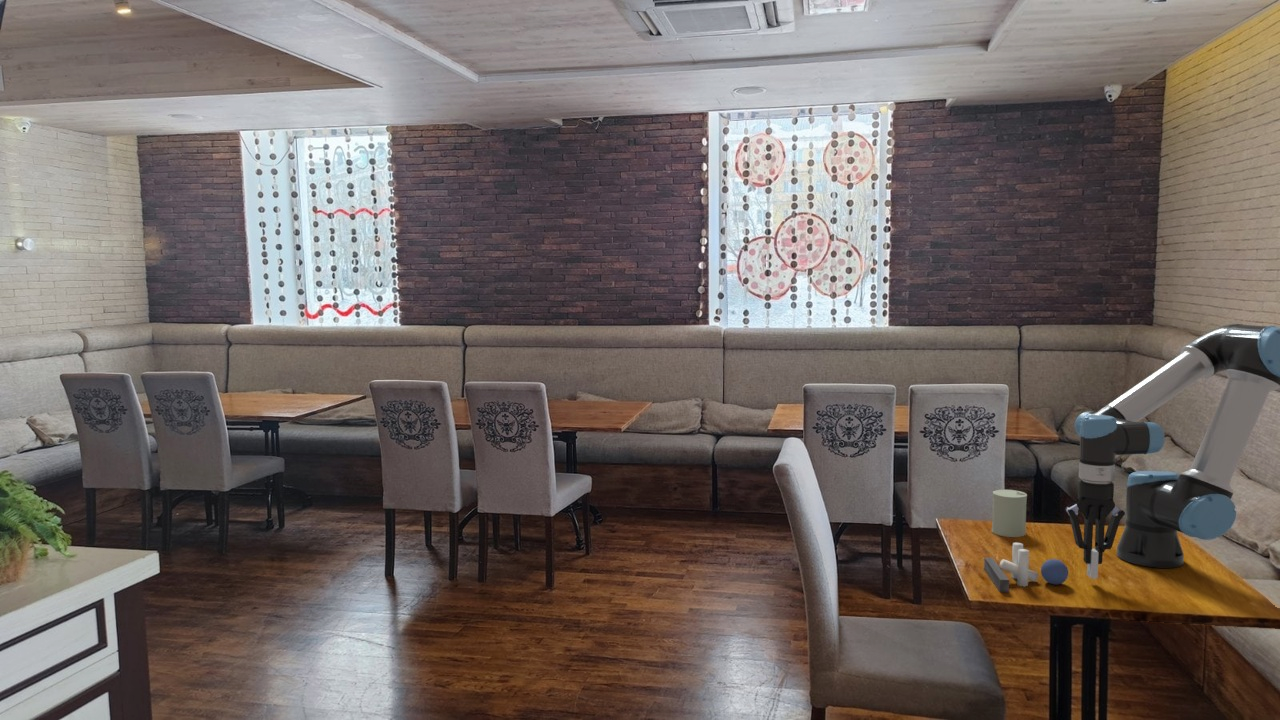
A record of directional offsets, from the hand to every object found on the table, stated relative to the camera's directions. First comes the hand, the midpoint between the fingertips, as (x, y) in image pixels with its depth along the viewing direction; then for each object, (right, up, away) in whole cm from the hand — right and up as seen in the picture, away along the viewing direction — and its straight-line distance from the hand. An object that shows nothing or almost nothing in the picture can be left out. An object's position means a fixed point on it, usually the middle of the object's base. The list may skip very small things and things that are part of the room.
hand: (1092, 576), depth 213 cm
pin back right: (-16, -2, +5) cm, 17 cm away
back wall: (-22, -2, +4) cm, 22 cm away
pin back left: (-17, -2, 0) cm, 17 cm away
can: (-3, +2, +42) cm, 42 cm away
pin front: (-13, -1, +2) cm, 13 cm away
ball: (-9, +1, 0) cm, 9 cm away
